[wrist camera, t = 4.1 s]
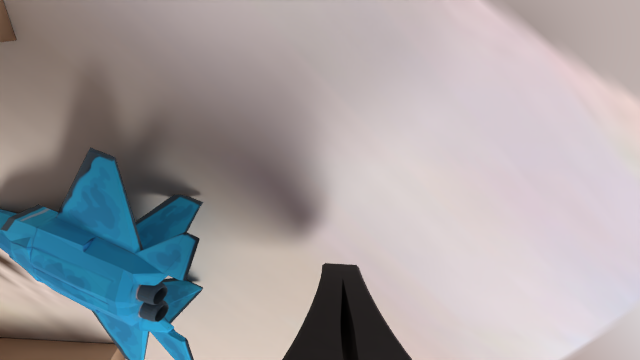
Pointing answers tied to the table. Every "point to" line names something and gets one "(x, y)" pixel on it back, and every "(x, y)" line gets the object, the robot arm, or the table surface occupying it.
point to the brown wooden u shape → (41, 355)
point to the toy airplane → (112, 256)
